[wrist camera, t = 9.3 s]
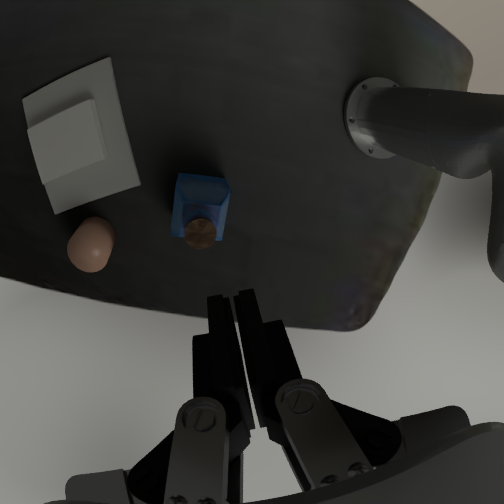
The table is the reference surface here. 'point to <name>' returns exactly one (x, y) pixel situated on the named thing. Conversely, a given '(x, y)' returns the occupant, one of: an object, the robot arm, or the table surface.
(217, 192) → the perfume bottle
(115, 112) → the mat
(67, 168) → the tile
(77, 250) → the brown rounded cylinder
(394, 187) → the table surface
